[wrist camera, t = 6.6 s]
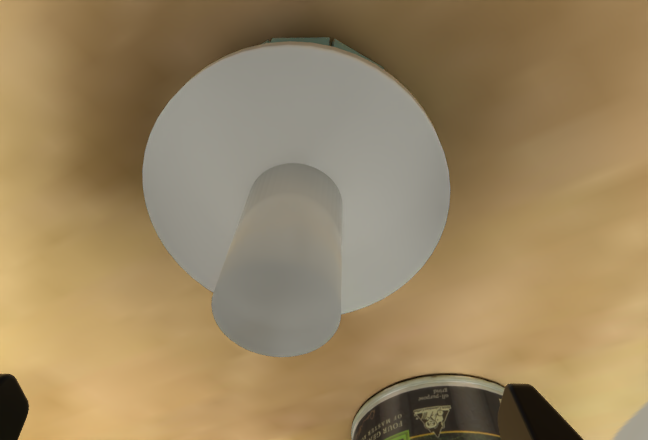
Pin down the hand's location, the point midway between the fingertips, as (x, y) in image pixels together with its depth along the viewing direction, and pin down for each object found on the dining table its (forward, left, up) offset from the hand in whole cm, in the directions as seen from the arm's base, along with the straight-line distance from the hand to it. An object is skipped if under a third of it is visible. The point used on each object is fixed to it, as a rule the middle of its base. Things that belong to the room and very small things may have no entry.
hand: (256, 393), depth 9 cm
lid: (0, 0, -7) cm, 7 cm away
